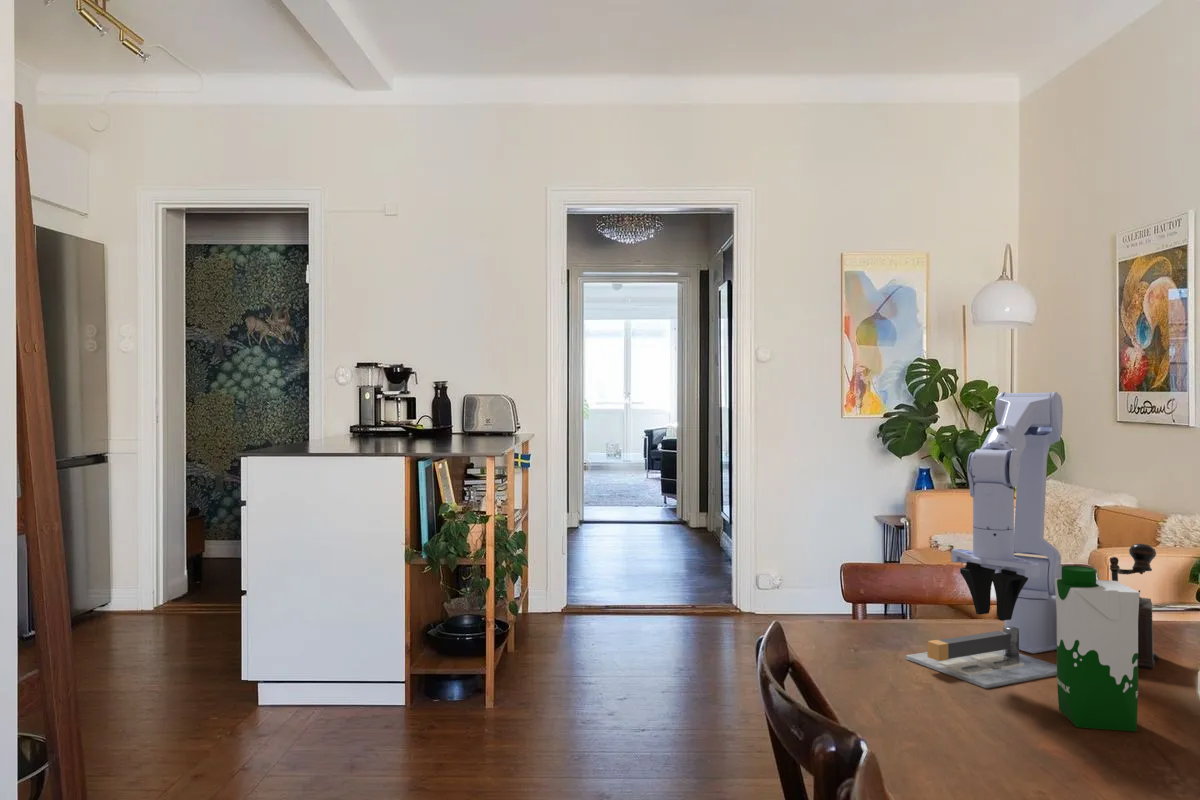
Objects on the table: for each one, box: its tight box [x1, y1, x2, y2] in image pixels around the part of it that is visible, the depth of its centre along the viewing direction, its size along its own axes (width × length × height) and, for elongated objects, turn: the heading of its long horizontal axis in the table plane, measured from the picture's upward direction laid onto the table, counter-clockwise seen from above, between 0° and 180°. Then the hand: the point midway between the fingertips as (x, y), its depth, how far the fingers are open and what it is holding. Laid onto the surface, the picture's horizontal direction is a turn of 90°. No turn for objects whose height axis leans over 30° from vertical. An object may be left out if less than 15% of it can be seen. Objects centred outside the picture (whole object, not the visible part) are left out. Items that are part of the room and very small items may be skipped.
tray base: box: [905, 625, 1057, 689], centre depth 135 cm, size 18×16×5 cm
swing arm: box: [927, 630, 1010, 661], centre depth 135 cm, size 16×2×2 cm, turn 114°
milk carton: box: [1055, 565, 1141, 733], centre depth 112 cm, size 9×9×20 cm
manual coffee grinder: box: [1109, 543, 1159, 670], centre depth 142 cm, size 16×11×18 cm
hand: (993, 616), depth 129 cm, fingers open, 3 cm apart
